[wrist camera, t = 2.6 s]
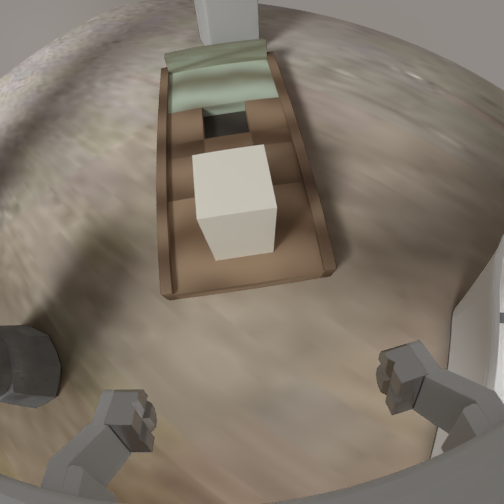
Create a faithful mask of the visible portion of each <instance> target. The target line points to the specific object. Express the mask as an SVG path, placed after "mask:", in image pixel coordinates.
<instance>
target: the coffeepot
mask: <svg viewBox="0 0 504 504" xmlns="http://www.w3.org/2000/svg"><path fill="white" fill-rule="evenodd" d="M60 370H61V364H60V361H59V358H58V354H57V351H56V349H55V347H54V345H53V343H52V342H51V340H50V337H49V335H47V334H44V333H43V332H41V331H39V330H36V329H34V328H32V327H30V326H28V325H16V326H0V402H3V403H8V404H13V405H19V406H25V407H31V408H37V407H39V406H41V405H43V404H45V403H47V402H49V401H50V400H52V399H54V398H55V397H56V394H57V391H58V387H59V383H60V375H61V373H60Z"/></svg>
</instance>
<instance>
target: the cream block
mask: <svg viewBox="0 0 504 504" xmlns="http://www.w3.org/2000/svg"><path fill="white" fill-rule="evenodd" d="M192 161H193V177H194V191H195V205H196V217H197V221H198V223H199V226H200V228H201V230H202V232H203V234H204V236H205V239H206V241H207V243H208V245H209V247H210V249H211V251H212V253H213V256H214V258H215V260H216V261H217V260H224V259H231V258H237V257H244V256H251V255H257V254H264V253H271V252H273V250H274V239H275V227H276V214H277V205H276V200H275V195H274V190H273V185H272V180H271V176H270V171H269V166H268V161H267V157H266V152H265V148H264V145H256V146H248V147H241V148H234V149H227V150H221V151H215V152H209V153H203V154H197V155H192Z"/></svg>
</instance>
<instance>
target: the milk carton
mask: <svg viewBox="0 0 504 504" xmlns="http://www.w3.org/2000/svg"><path fill="white" fill-rule="evenodd" d="M194 4H195V10H196V15H197V21H198V26H199V32H200V37H201V41H202V43H203V44H204V46H207V45H213V44H220V43H227V42H235V41H243V40H253V39H259V20H258V0H194Z"/></svg>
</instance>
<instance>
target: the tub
mask: <svg viewBox="0 0 504 504" xmlns="http://www.w3.org/2000/svg"><path fill="white" fill-rule="evenodd" d="M447 370H449V371H451V372H453V373H456V374H458V375H460V376H462V377H464V378H467V379H469V380H471V381H473V382H475V383H478V384H480V385H482V386H484V387H487V388H489V389H491V390H493V391H495V392H496V393H497V395H498V396H499V398H500V399H501V401H502V402H503V404H504V234H503V236H502V238H501V241H500V243H499V246H498V248H497V250H496V251H495V253H494V254H493V256H492V257H491V259H490V260H489V262H488V263H487V265H486V266H485V268H484V269H483V271H482V272H481V274H480V275H479V277H478V278H477V279H476V281H475V282H474V284H473V285H472V286H471V288H470V289H469V291H468V292H467V293H466V295H465V296H464V297H463V299H462V300H461V301H460V302H459V304H458V305H457V306H456V307H455V309H454V311H453V314H452V318H451V333H450V346H449V356H448V365H447ZM448 435H449V434H448V433H447V432H445V431H444V430H442V429H441V428H439V427H438V426H437V431H436V436H435V440H434V444H433V448H432V452H431V456H430V459H431V458H433V457H435V456H438V455H440V454H442V453H443V451H442V449H441V446H442V444H443V443H444V441H445V440H446V438H447V436H448Z"/></svg>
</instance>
